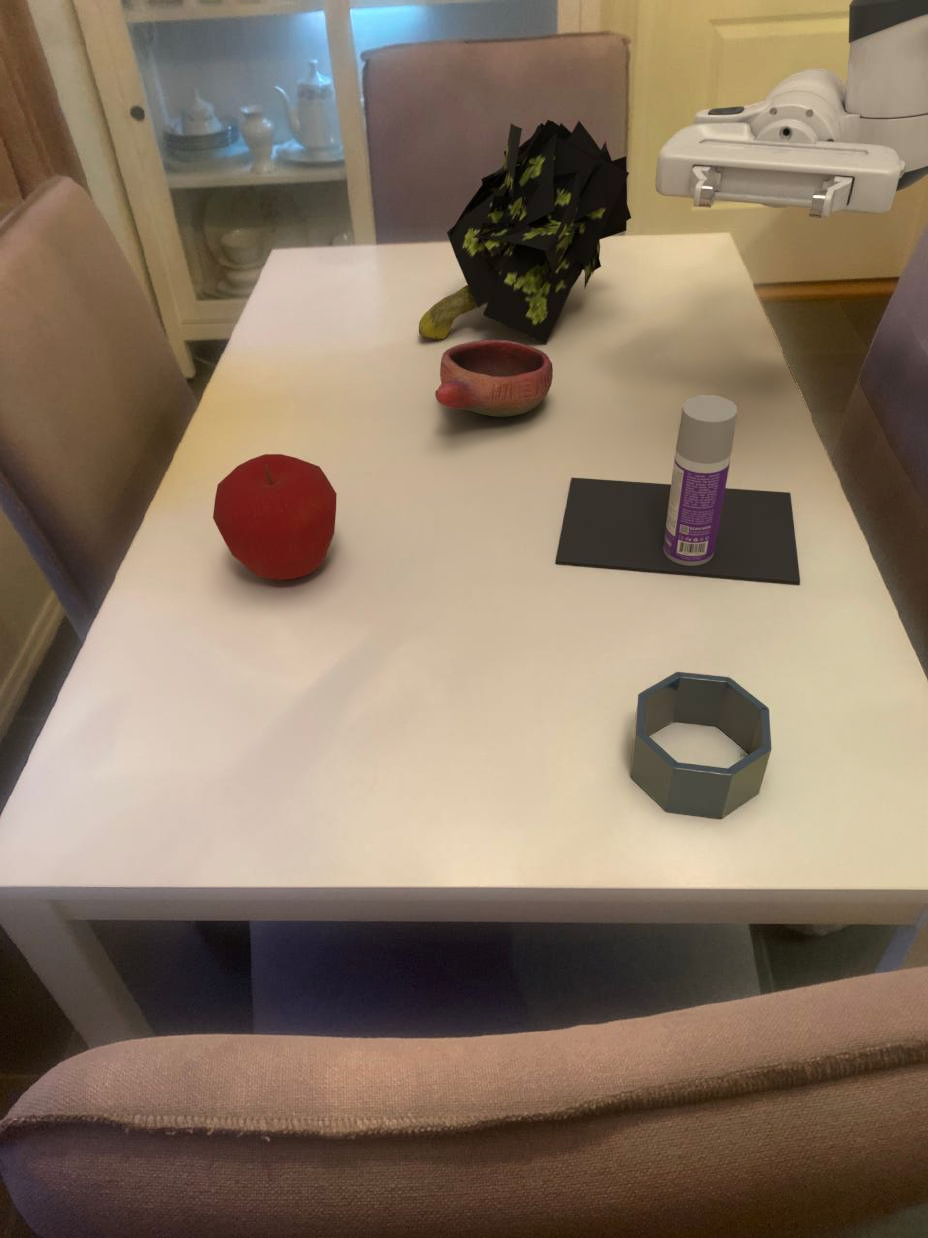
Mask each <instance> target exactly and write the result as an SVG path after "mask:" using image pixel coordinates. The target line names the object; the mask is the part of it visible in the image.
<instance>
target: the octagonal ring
mask: <svg viewBox="0 0 928 1238" xmlns="http://www.w3.org/2000/svg"><path fill="white" fill-rule="evenodd" d="M634 718H635V721H634V728H633V735H632V749H631V761H630V763H631V764H630V773H629V777H630V778H631V780H632V781H634V782H635V784H637V786H639V787H640V788H641V789H642V790H643V791H644V792H645V793H646V794H647V795H648V796H649V797H650V798H651V799H652V800H653V801H654V802H655V803H656V804H657V805H658V806H659V807H660V808H662V810H663V811H664V812H666V813H672V814H679V815H680V814H681V815H688V816H695V817H702V818H710V819H718V820H722V819H724V818H725V817H726V816H728V815H729V814H731V813H732V812H734V811H735V810H737V809H739V808H740V807H741V806H743V805H744V804H745V803H747V802H749V801H750V800H751V799H753V798H754V797H756V796H757V795H759V794H760V791H761V788H762V784H763V781H764V777H765V774H766V770H767V767H768V763H769V760H770V756H771V753H772V750H773V749H772V735H771V734H772V733H771V719H770V718H771V717H770V708H769V707H768V705H766V704H765V703H763V702H762V701H760V700H759V699H758V698H757V697H755V696H754V695H753V694H752V693H750V692H749V691H748V690H747V689H745V688H744V687H743V686H742V685H740V684H739V683H738V682H736V681H735V680H734V679H733V678H732V677H730V676H723V675H713V674H711V675H710V674H704V673H695V672H694V673H693V672H684V671H675V672H674V673H672V674H670V675H669V676H667V677H665V678H664V679H662V680H660V681H658V682H657V683H655V684H653V685H651V686H650V687H648V688H646V689H644V690H643V691H641V692H639V693H638V694H637V703H636V711H635V717H634ZM673 722H675V723H681V724H682V723H683V724H691V725H692V724H693V725H701V726H710V727H717V728H718V729H719V730H720V731H721V732H723V733H724V734H725V735H726V736H727V737H729V738H730V739H731V740H732V741H733V742H735V743H736V744H737V745H738V746H739V747H741V748H742V749H743V750H744V751H746V753H748V754H747V755H746V756H744V757H743V758H742V759H740V760H739V761H737V762H735V763H734V764H732V765H731V766H729V767H728V768H727V767H720V766H712V765H703V764H695V763H694V764H693V763H686V762H678V761H677V760H676V759H675V758H673V757H672V756H671V755H670V754H669V752H667V751H666V750H665V749H663V747H661V746H660V745H659V744H658V743H657V742H656V741H655V740H654V739H653V738H652V737H651V736H652V735H653V734H655V733H657V732H658V731H660V730H661V729H663V728H665V727H667V726H668V725H669V724H671V723H673Z"/></svg>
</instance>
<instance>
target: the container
mask: <svg viewBox="0 0 928 1238" xmlns="http://www.w3.org/2000/svg"><path fill="white" fill-rule="evenodd" d="M737 417H738V407H737V405H736V404H735V403H734V402H733V401H732V400H730V399H728V398H725V397H723V396H719V395H714V394H713V395H712V394H702V395H701V394H700V395H696V396H695V395H694V396H692V397H690V398H688V399H686V400H684V402H683V403H682V408H681V413H680V422H679V427H678V433H677V439H676V445H675V451H674V452H675V453H674V459H673V468H672V475H671V490H670V498H669V506H668V514H667V522H666V530H665V538H664V547H663V550H664V553H665V555H666V556H667V557H668V558H669V559H670V560H672V561H673V562H675V563H678V564H681V565H686V566H696V565H701V564H704V563H706V562H708V561H709V560H711V558H712V557H713V554H714V550H715V544H716V539H717V533H718V527H719V522H720V516H721V510H722V505H723V499H724V493H725V488H727V487H726V486H727V482H728V475H729V469H730V465H731V457H732V450H733V444H734V443H733V442H734V437H735V430H736V424H737V423H736V421H737Z"/></svg>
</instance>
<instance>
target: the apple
mask: <svg viewBox="0 0 928 1238" xmlns="http://www.w3.org/2000/svg"><path fill="white" fill-rule="evenodd" d="M336 516H337V491H335V488H334V487H333V485H332V483H331V482H330V480H329V478H328V477H327V475H326V474H325V472H324V471H323V470H322V468H321V466H319V465H316V464H314V463H311V462H309V461H307V460H303V459H300V458H297V457H295V456H290V455H286V454H282V453H265V454H262V455H259V456H255V457H253V458H250V459H248V460H246V461H244V462H242V463H241V464H239V465H237V466H236V467H235V468H233V470H231V471H230V472H229V474H227V475H226V476H225V477H224V478H223V479H222V480H220V482H219V483H217V487H216V492H215V497H214V505H213V514H212V519H213V522H214V523H215V526H216V528H217V530H218V531H219V534H220V535H221V538H222V539H223V541H224V543H225V545H226V546H227V549H228V550H229V552H230V554H231V556H233V558H234V559H236V560H237V561H238V562H240V564H241V565H243V566H244V567H245V568H247V570H248V571H250V572H251V573H253V574H255V575H257V576H259V577H261V578H265V579H269V580H270V579H271V580H274V581H281V580H283V581H284V580H293V579H297V578H301V577H305V576H308V575H309V574H310V573H312V572H313V571H315V570H317V569H318V568H320V566H321V565H322V563H323V562H324V561H325V559H326V557H327V554H328V551H329V548H330V546H331V543H332V540H333V538H334V535H335V529H336Z"/></svg>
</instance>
